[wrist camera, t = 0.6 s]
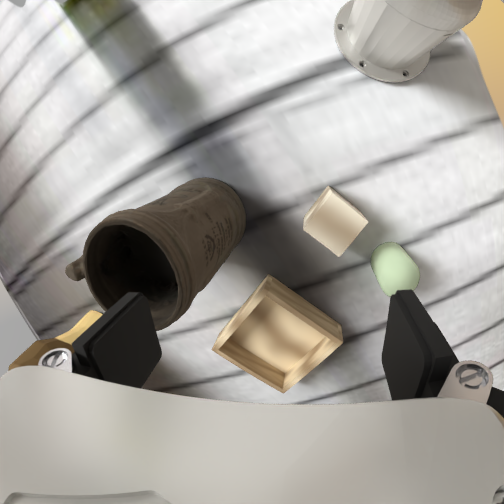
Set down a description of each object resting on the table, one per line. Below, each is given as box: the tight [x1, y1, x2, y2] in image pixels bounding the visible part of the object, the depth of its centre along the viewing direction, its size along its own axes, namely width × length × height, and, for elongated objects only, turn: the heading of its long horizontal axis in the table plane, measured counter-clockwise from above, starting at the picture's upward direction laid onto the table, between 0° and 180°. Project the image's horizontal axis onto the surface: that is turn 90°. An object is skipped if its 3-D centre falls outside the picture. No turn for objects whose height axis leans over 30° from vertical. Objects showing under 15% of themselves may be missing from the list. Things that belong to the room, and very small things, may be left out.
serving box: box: [212, 274, 343, 393], centre depth 41 cm, size 13×13×4 cm
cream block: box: [303, 186, 368, 257], centre depth 33 cm, size 5×5×6 cm
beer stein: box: [65, 177, 246, 331], centre depth 31 cm, size 15×11×20 cm
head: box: [9, 310, 103, 371], centre depth 40 cm, size 14×21×25 cm, turn 39°
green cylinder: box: [371, 242, 420, 297], centre depth 34 cm, size 5×5×6 cm
